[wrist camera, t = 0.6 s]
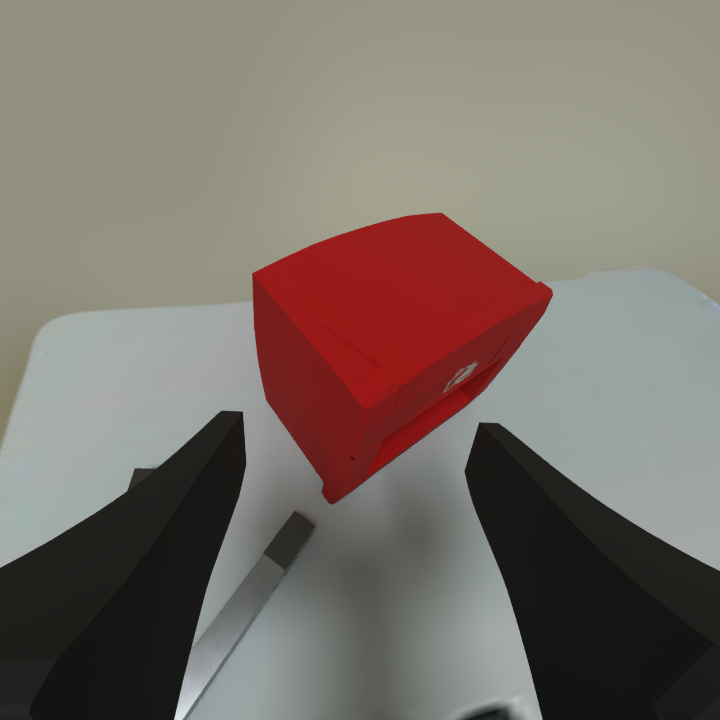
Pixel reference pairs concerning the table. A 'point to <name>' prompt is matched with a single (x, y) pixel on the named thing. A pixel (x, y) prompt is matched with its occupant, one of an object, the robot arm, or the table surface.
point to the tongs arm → (241, 612)
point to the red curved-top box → (385, 338)
